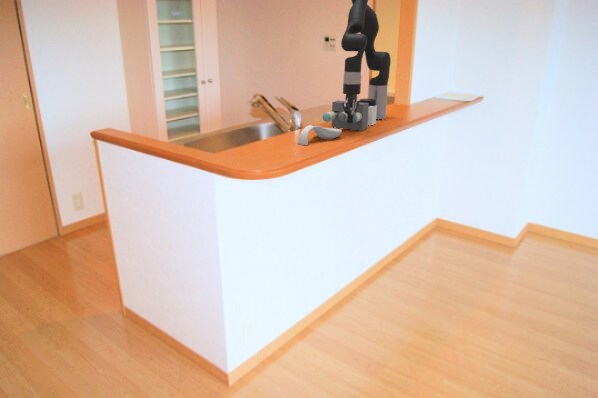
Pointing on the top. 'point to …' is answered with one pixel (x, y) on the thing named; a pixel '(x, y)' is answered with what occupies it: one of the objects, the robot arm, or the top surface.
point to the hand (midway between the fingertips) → (350, 123)
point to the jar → (371, 110)
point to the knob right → (357, 117)
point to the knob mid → (342, 116)
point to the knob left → (329, 116)
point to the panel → (336, 123)
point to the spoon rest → (318, 133)
